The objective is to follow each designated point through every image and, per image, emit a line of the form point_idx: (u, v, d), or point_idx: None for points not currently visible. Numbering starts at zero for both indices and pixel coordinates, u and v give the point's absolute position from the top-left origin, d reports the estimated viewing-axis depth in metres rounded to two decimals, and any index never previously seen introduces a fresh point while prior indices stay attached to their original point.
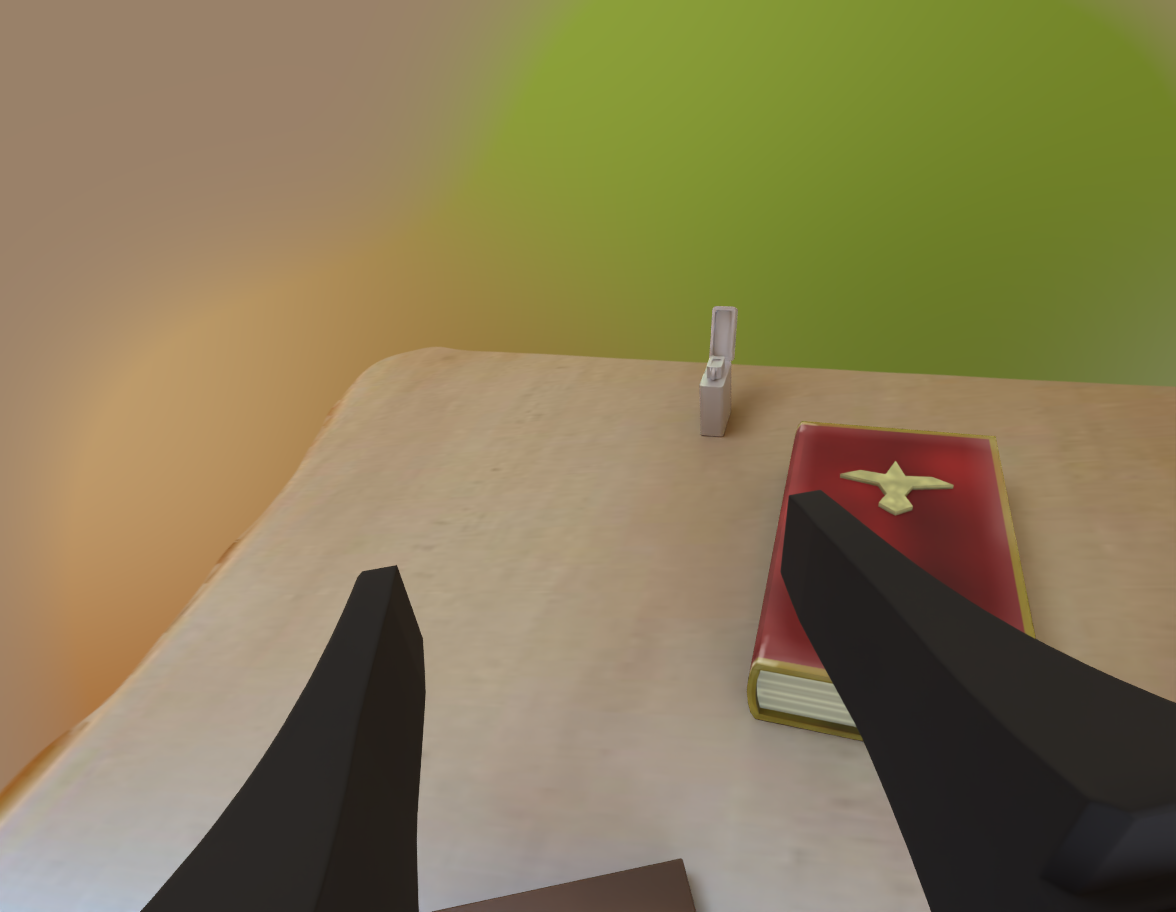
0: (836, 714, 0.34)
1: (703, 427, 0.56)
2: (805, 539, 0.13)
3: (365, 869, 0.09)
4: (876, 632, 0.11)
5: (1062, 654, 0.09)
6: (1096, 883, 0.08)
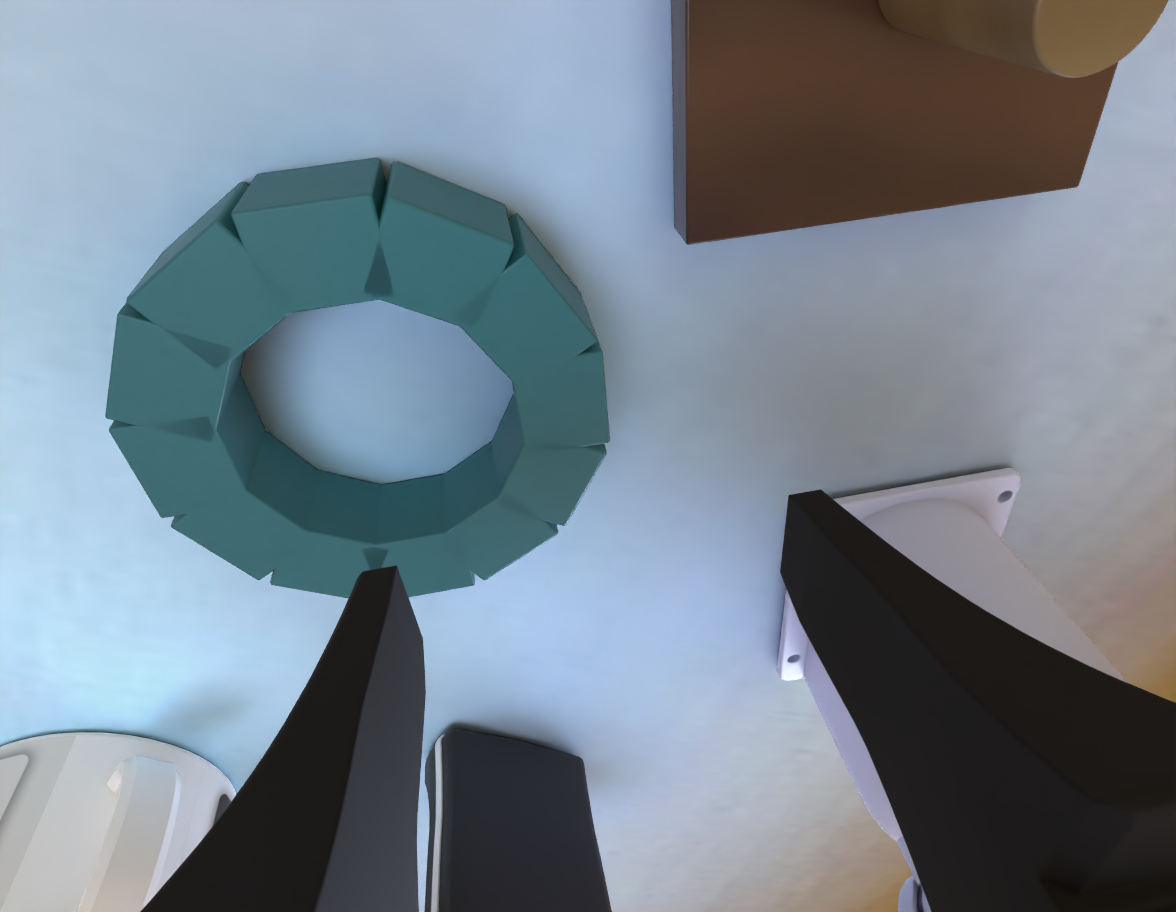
0: None
1: None
2: (805, 539, 0.13)
3: (365, 868, 0.09)
4: (876, 632, 0.11)
5: (1062, 654, 0.09)
6: (1096, 883, 0.08)
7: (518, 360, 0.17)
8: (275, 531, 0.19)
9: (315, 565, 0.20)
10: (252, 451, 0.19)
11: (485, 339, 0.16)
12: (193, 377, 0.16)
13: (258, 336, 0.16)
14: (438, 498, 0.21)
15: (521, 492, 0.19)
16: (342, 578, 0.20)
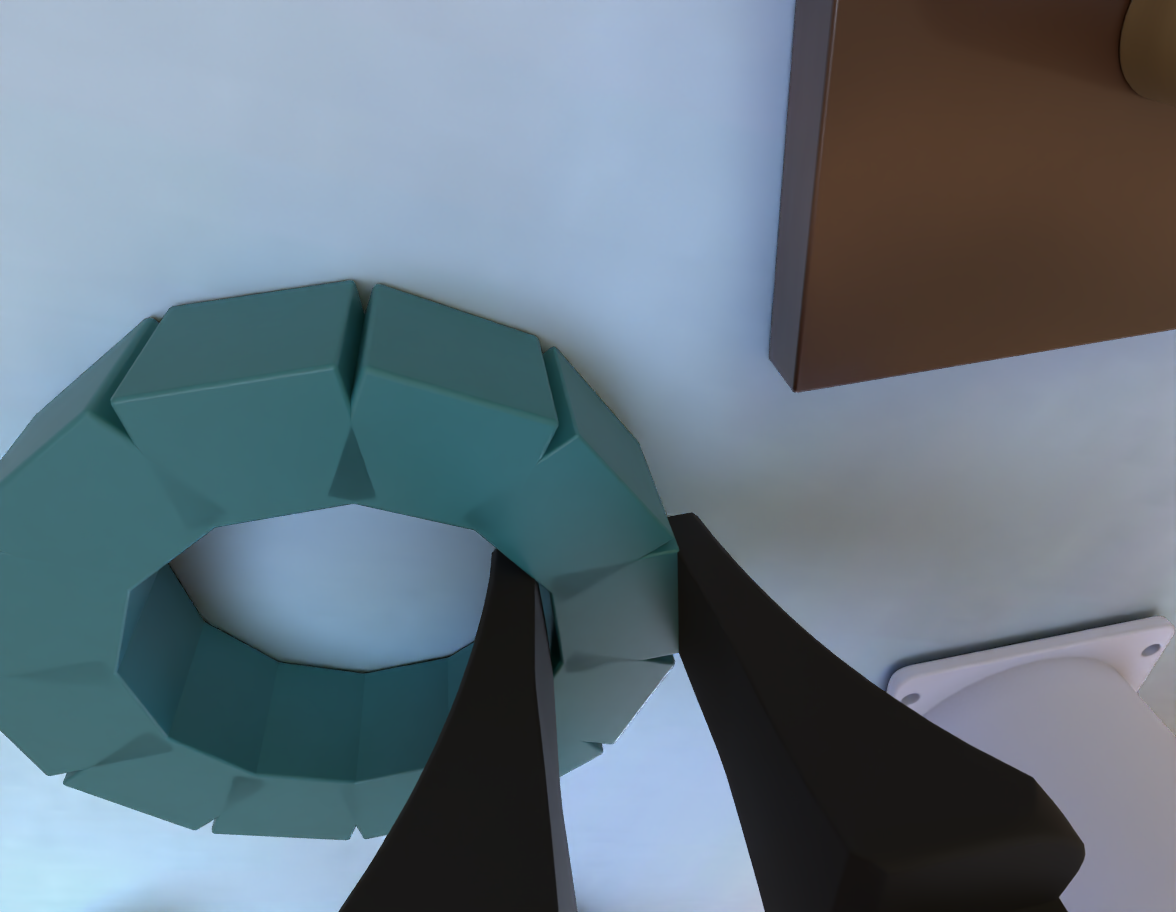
0: None
1: None
2: None
3: (557, 828, 0.09)
4: (721, 662, 0.11)
5: (880, 691, 0.09)
6: None
7: (559, 567, 0.12)
8: (214, 779, 0.13)
9: (273, 810, 0.14)
10: (181, 668, 0.13)
11: (512, 545, 0.11)
12: (74, 615, 0.11)
13: (169, 559, 0.10)
14: (441, 700, 0.15)
15: (556, 714, 0.14)
16: (311, 820, 0.15)
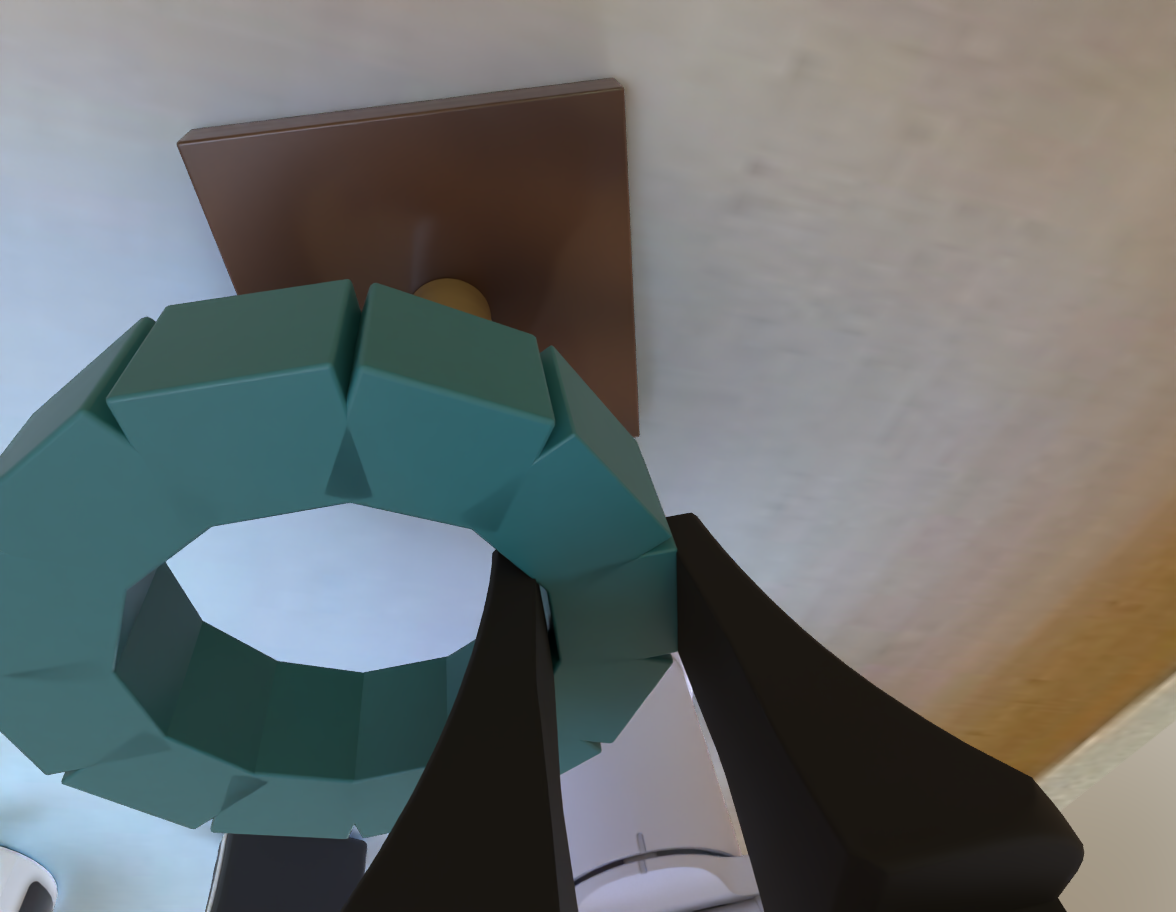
0: None
1: None
2: None
3: (558, 828, 0.09)
4: (720, 662, 0.11)
5: (879, 691, 0.09)
6: None
7: (556, 566, 0.12)
8: (213, 778, 0.13)
9: (271, 809, 0.14)
10: (179, 667, 0.13)
11: (509, 544, 0.11)
12: (71, 614, 0.11)
13: (166, 558, 0.10)
14: (439, 699, 0.15)
15: None
16: (309, 819, 0.15)
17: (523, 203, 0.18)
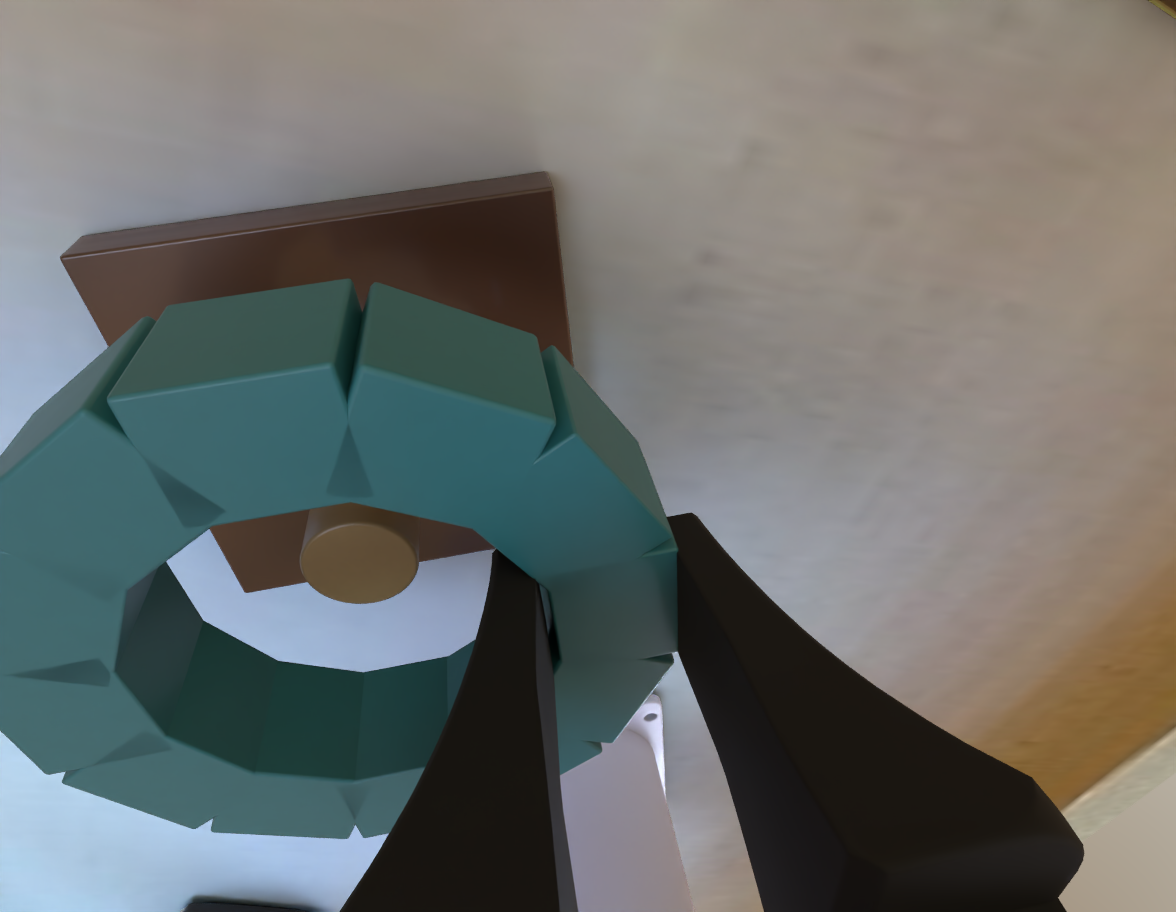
0: None
1: None
2: None
3: (557, 828, 0.09)
4: (720, 663, 0.11)
5: (879, 691, 0.09)
6: None
7: (557, 566, 0.12)
8: (213, 777, 0.13)
9: (272, 808, 0.14)
10: (180, 667, 0.13)
11: (510, 543, 0.11)
12: (71, 613, 0.11)
13: (167, 557, 0.10)
14: (440, 699, 0.15)
15: None
16: (310, 819, 0.15)
17: None
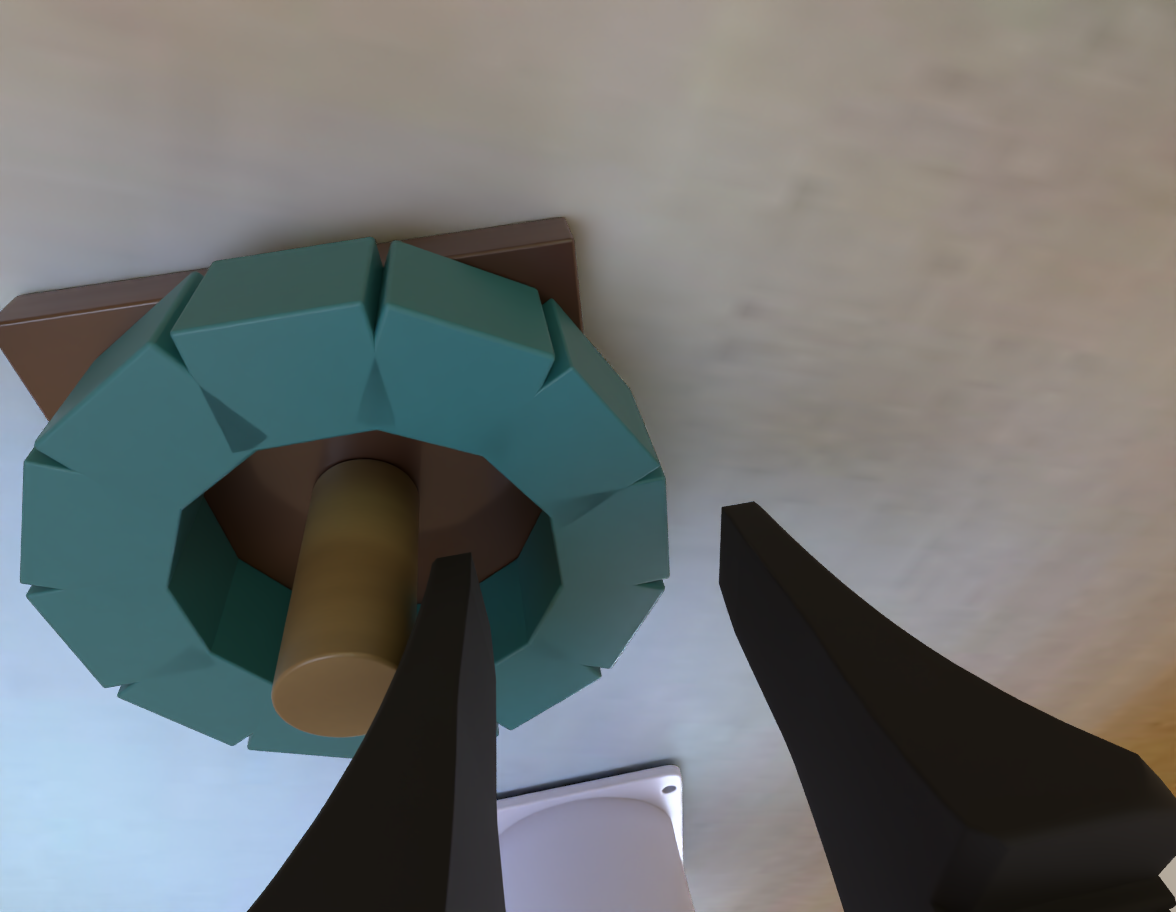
0: None
1: None
2: (736, 552, 0.13)
3: (472, 846, 0.09)
4: (796, 648, 0.11)
5: (968, 673, 0.09)
6: (984, 909, 0.08)
7: (558, 493, 0.13)
8: (251, 694, 0.15)
9: None
10: (220, 595, 0.15)
11: (515, 470, 0.13)
12: (133, 531, 0.12)
13: (216, 480, 0.12)
14: None
15: (558, 637, 0.15)
16: (336, 738, 0.16)
17: None
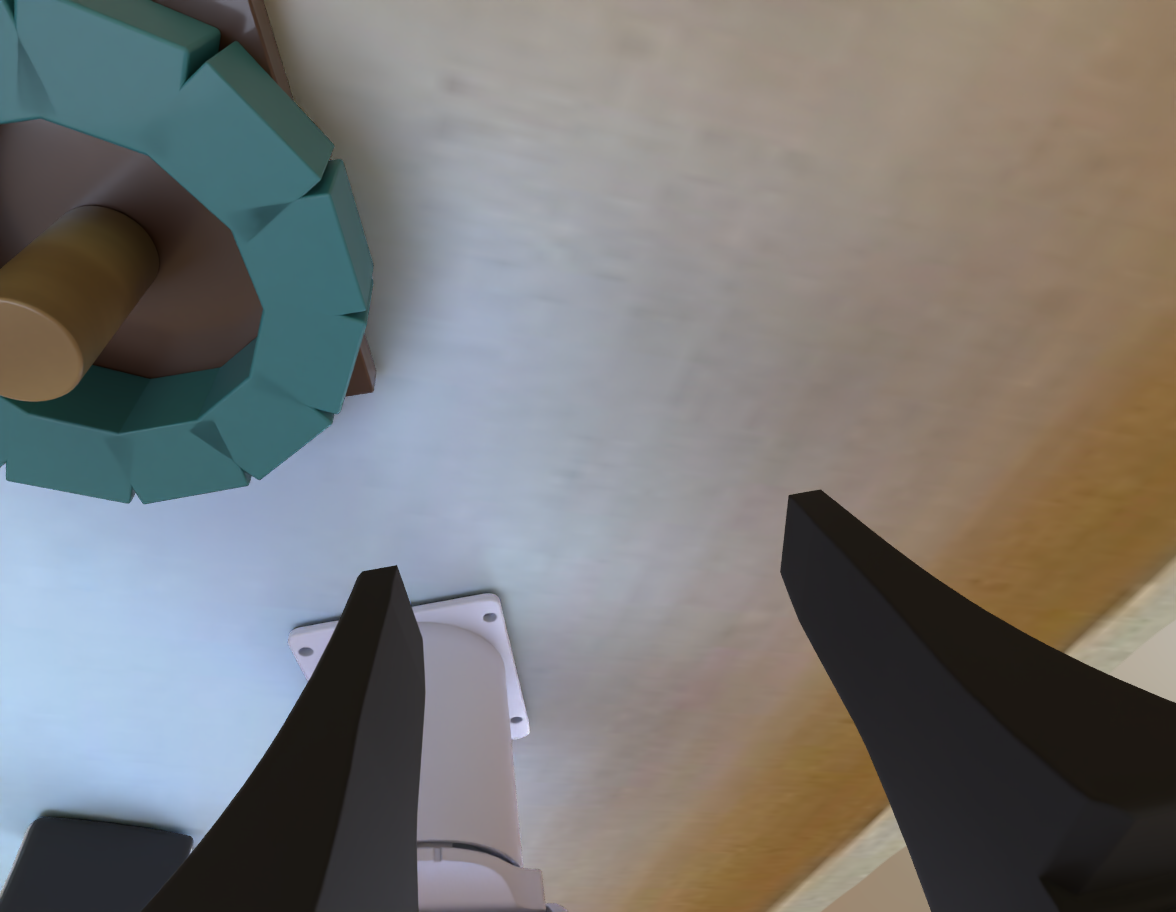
0: None
1: None
2: (805, 539, 0.13)
3: (366, 868, 0.09)
4: (876, 632, 0.11)
5: (1062, 654, 0.09)
6: (1096, 883, 0.08)
7: (230, 202, 0.15)
8: None
9: (52, 457, 0.18)
10: None
11: (183, 173, 0.14)
12: None
13: None
14: (204, 388, 0.19)
15: (275, 371, 0.17)
16: (89, 474, 0.18)
17: None
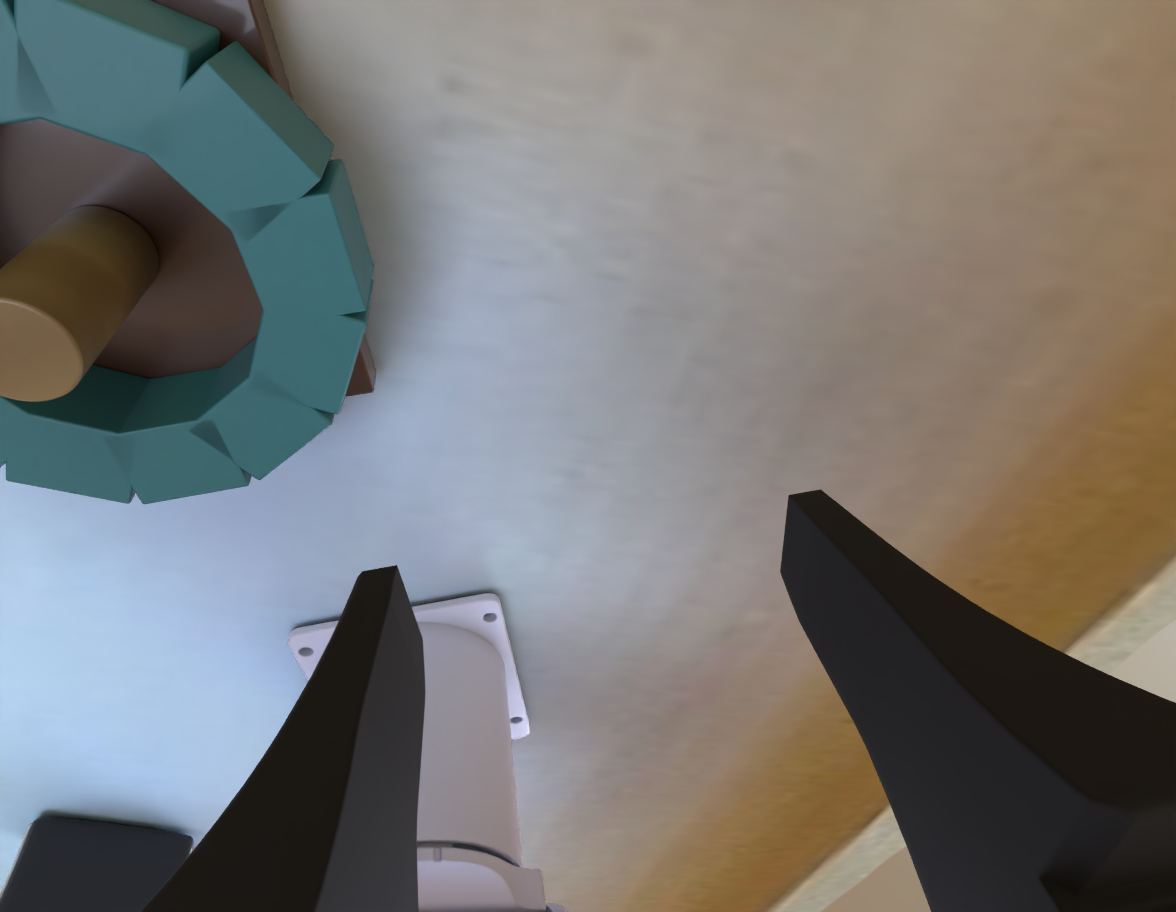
0: None
1: None
2: (805, 539, 0.13)
3: (366, 868, 0.09)
4: (876, 632, 0.11)
5: (1062, 654, 0.09)
6: (1096, 883, 0.08)
7: (230, 202, 0.15)
8: None
9: (52, 457, 0.18)
10: None
11: (183, 173, 0.14)
12: None
13: None
14: (204, 388, 0.19)
15: (275, 371, 0.17)
16: (89, 474, 0.18)
17: None
